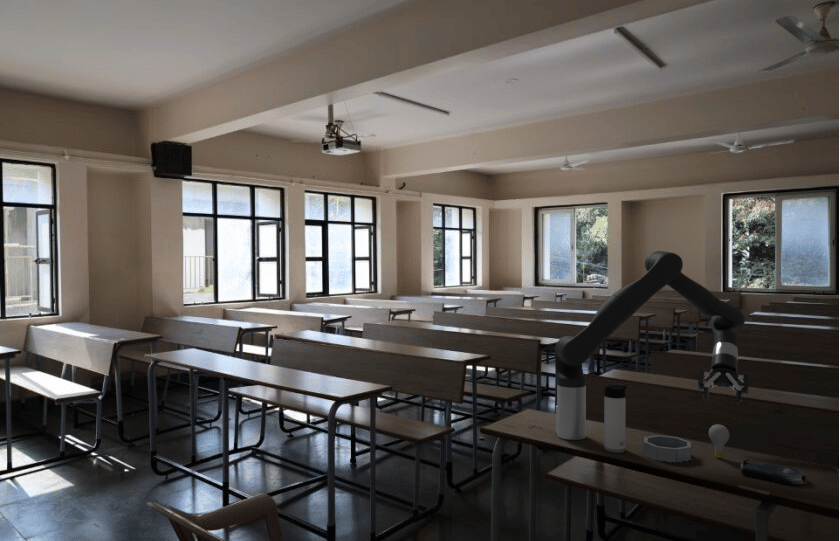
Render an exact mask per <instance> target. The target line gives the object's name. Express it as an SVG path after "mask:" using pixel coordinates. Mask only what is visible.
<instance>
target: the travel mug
mask: <svg viewBox="0 0 840 541" xmlns="http://www.w3.org/2000/svg"><path fill="white" fill-rule="evenodd" d="M626 390H627V385H619V384H618V385H616V384H615V385H609V386H605V387H604V395H603V396H604V397H603V398H604V400H603V401H604V403H603V404H604V405H603V406H604V413H603V414H604V415H603V416H604V419H603V420H604V422H603V423H604V424H603V426H604V428H603V429H604V430H603V432H604V433H603V435H604V436H603V437H604V438H603V448H604V451H606V452H609V453H613V454H614V453H615V454H620V453H624V452H625V451H626V416H627V415H626V414H627V413H626V405H627V404H626Z"/></svg>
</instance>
